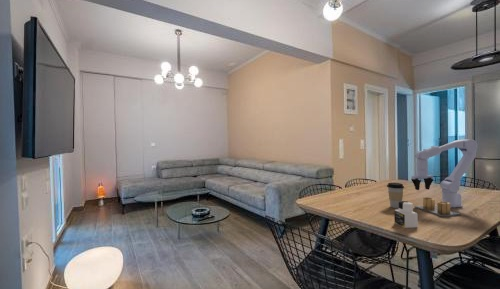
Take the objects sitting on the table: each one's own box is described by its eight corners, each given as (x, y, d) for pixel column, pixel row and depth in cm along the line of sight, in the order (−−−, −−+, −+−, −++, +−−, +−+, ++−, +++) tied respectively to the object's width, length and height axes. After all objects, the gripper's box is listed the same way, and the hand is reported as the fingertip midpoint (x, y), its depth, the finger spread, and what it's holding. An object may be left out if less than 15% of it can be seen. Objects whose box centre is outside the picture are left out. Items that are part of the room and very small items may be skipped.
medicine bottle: (394, 223, 120) (394, 200, 120) (406, 222, 121) (406, 199, 121) (404, 228, 113) (404, 204, 113) (417, 227, 114) (417, 203, 114)
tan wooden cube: (428, 205, 146) (428, 197, 145) (437, 208, 140) (436, 199, 140) (420, 206, 145) (420, 197, 145) (429, 209, 139) (429, 200, 139)
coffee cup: (407, 209, 142) (407, 185, 142) (390, 208, 144) (390, 185, 144) (400, 205, 152) (400, 182, 151) (384, 204, 153) (384, 182, 153)
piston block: (430, 206, 147) (430, 196, 147) (460, 215, 130) (460, 204, 130) (414, 207, 146) (414, 197, 145) (442, 217, 128) (442, 205, 128)
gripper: (426, 167, 157) (426, 187, 157) (407, 168, 155) (407, 188, 155) (436, 169, 150) (436, 189, 150) (416, 170, 148) (416, 191, 148)
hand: (422, 189), depth 152 cm, fingers open, 7 cm apart
